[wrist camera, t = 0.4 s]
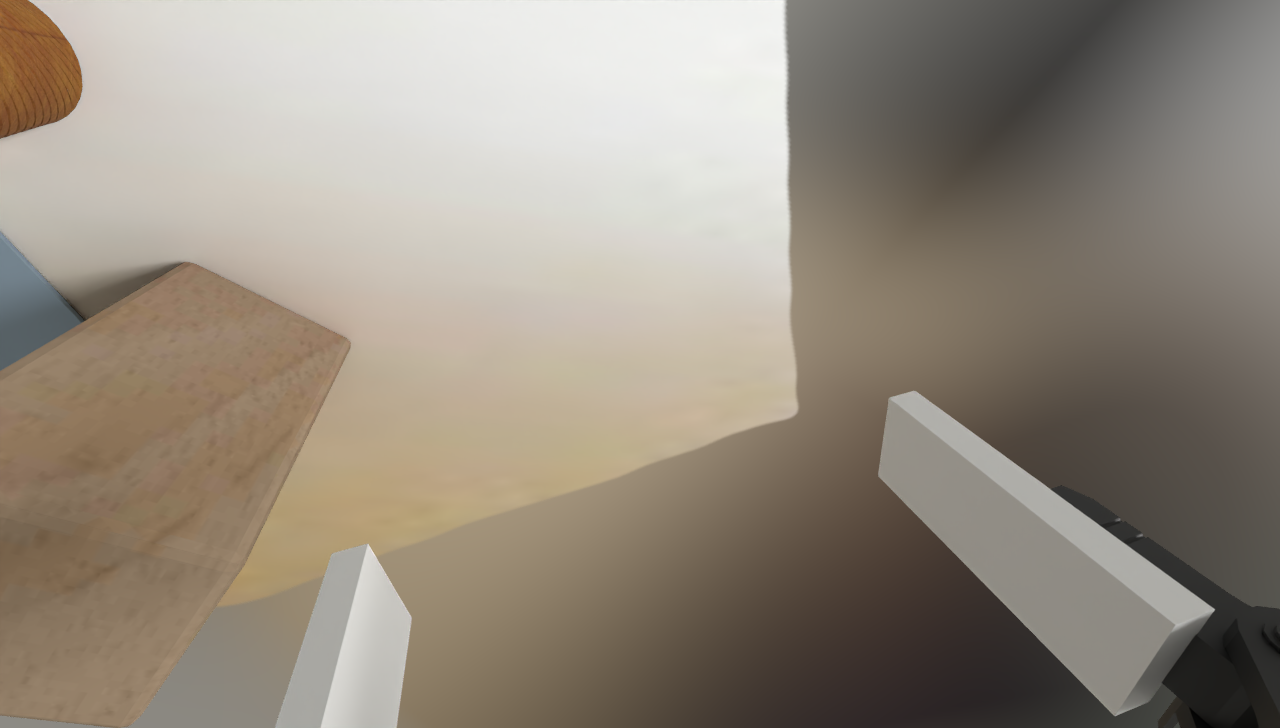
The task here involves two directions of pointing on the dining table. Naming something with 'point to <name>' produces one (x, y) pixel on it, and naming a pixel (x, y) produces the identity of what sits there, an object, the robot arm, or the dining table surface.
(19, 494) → the wooden block
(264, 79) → the dining table surface
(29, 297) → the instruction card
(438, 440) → the dining table surface
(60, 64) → the disposable coffee cup
